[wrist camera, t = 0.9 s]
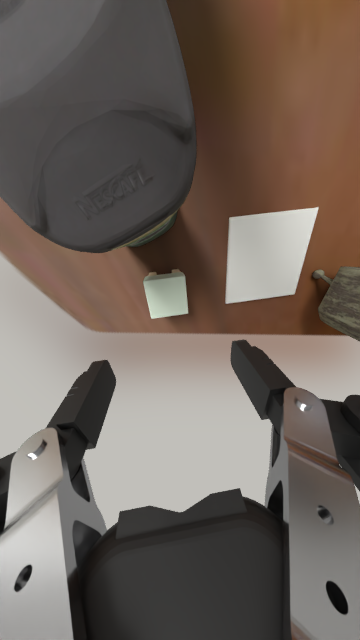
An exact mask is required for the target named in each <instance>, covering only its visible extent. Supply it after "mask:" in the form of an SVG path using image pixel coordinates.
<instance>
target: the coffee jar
mask: <svg viewBox="0 0 360 640" xmlns="http://www.w3.org/2000/svg"><path fill="white" fill-rule="evenodd" d="M195 164H196V126H195V117H194V110H193V104H192V99H191V94H190V88H189V84H188V79H187V75H186V70H185V66H184V62H183V58H182V54H181V50H180V46H179V42H178V39H177V35H176V32H175V28H174V24H173V21H172V18H171V14H170V11H169V8H168V5H167V2H166V0H0V197H1V198H2V199H3V200H4V201H5V202H6V203H7V204H8V205H9V207H10V208H11V209H12V210H13V211H14V212H15V213H16V214H17V215H18V216H19V217H20V218H21V219H22V220H23V221H24V222H25V223H26V224H27V225H28V226H29V227H31V228H32V229H33V230H34V231H36V232H37V233H39V234H41V235H42V236H44V237H45V238H47V239H49V240H50V241H52V242H54V243H56V244H58V245H61V246H63V247H65V248H69V249H72V250H76V251H80V252H91V253H103V252H108V251H111V250H114V249H118V248H121V247H124V246H129V247H138V246H141V245H144V244H146V243H148V242H151V241H152V240H154V239H156V238H158V237H159V236H161V235H162V234H164V233H165V232H166V231H168V230H169V229H170V228H171V227H172V226H173V224H174V222H175V220H176V217H177V210H178V209H179V208H180V207H181V206H182V204H183V203H184V201H185V199H186V197H187V195H188V193H189V191H190V188H191V184H192V180H193V174H194V169H195Z"/></svg>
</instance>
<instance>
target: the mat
mask: <svg viewBox="0 0 360 640" xmlns="http://www.w3.org/2000/svg"><path fill="white" fill-rule="evenodd" d="M318 208H319V207H317V208H309V209H300V210H291V211H282V212H273V213H264V214H255V215H247V216H238V217H230V218H229V231H228V252H227V274H226V296H225V303H226V304H228V303H235V302H242V301H250V300H257V299H264V298H271V297H278V296H286V295H293V294H295V291H296V287H297V283H298V280H299V276H300V273H301V269H302V265H303V262H304V258H305V255H306V251H307V248H308V244H309V240H310V237H311V233H312V230H313V226H314V222H315V219H316V215H317V212H318Z"/></svg>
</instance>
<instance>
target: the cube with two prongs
mask: <svg viewBox="0 0 360 640" xmlns="http://www.w3.org/2000/svg"><path fill="white" fill-rule="evenodd" d="M143 283H144V288H145V292H146V297H147V301H148V306H149V310H150V315H151V319H153V318H160V317H167V316H174V315H182V314H188V305H187V293H186V281H185V275H184V274H183V272H180V271H179V269H175V270H172V273H169V274H161V275H157V273H156V272H151V273H149V275H148V276H146V277H145V278H144V280H143Z"/></svg>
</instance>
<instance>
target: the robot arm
mask: <svg viewBox="0 0 360 640" xmlns="http://www.w3.org/2000/svg"><path fill="white" fill-rule="evenodd" d="M231 365H232V367H233V370H234V371H235V373H236V375H237V377H238V379H239V380H240V382H241V384H242V386H243V387H244V389H245V391H246V393H247V395H248V396H249V398H250V400H251V402H252V404H253V405H254V407H255V409H256V411H257V413H258V414H259V416H260V418H261V419H262V420H264V419H270V420H271V422H272V424H273V425H272V433H271V449H270V464H269V473H268V478H267V485H266V494H265V506H263V505H261V504H260V503H258V502H256V501H254V500H251V499H249V498H246V497H242V494H241V491H240V488H239V489H234V490H228V491H223V492H218V493H213V494H210V495H209V496H207V497H206V498H204V499H203V500H201V501H200V502H198V503H196V504H195V505H193V506H192V507H190V508H189V509H187V510H186V511H184V512H181V513H179V512H175V511H170V510H166V509H162V508H157V507H153V506H146V507H141V508H136V509H131V510H126V511H120V513H119V519H118V522H117V523H116V524H115V525H113V526H112V527H111V528H110V529H109V530H107V529H106V526H105V522H104V519H103V517H102V515H101V512H100V511H99V509H98V507H97V505H96V503H95V499H94V496H93V492H92V488H91V484H90V480H89V477H88V473H87V470H86V465H85V461H84V459H83V456H84V453H85V450H87V449H92V448H95V447H96V444H97V441H98V438H99V434H100V432H101V429H102V426H103V422H104V420H105V417H106V413H107V410H108V407H109V404H110V401H111V398H112V395H113V392H114V389H115V386H116V378H115V375H114V373H113V371H112V368H111V366H110V364H109V362H108V361H107V360H102V361H95V362H93V363H92V364H91V365H90V367H89V369H88V371H86V372H84V373H83V374H82V375H80V377H78V379H76V381H75V382H74V384H73V386H72V387H71V389H70V390H69V392H68V394H67V397H65V399H64V400H63V402H62V403H61V405H60V407H59V408H58V410H57V411H56V413H55V414H54V416H53V417H52V419H51V421H50V422H49V424H48V425H47V427H46V428H45V429H43V430H40V431H39V432H37V433H35V434H34V435H32V436H31V437H30V438H29V439H27V440H26V441H25V442H24V443H23V444H22V445H21V447H20V448H19V449H18V451H16V452H14V453H12V454H10V455H7V456H6V457H4V458H1V459H0V640H360V504H359V501H358V497H357V493H356V490H355V486H356V487H357V488H358V490H359V491H360V395H350V396H348V397H347V398H346V399H345V401H344V402H338V401H331V400H324V399H319V398H318V397H316V396H315V395H314V394H312V393H311V392H309V391H307V390H304V389H302V388H297V387H296V386H295V385H294V384H293V383H292V382H291V381H290V380H289V379H288V378H287V377H286V375H285V374H284V373H283V372H282V371H281V370H280V369H279V368H278V367H277V366H276V365H275V364H274V363H273V361H272V360H271V359H269V358H268V356H267V355H266V354H265V353H264V352H263V351H262V350H260V349H258V348H257V347H255V346H253V347H251V345H250V344H249V343H248V342H247V341H246V340H238V341H233V342H232V348H231ZM339 464H340V465H339ZM340 466H341V467H342V468H341V467H340ZM354 484H355V486H354Z"/></svg>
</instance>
